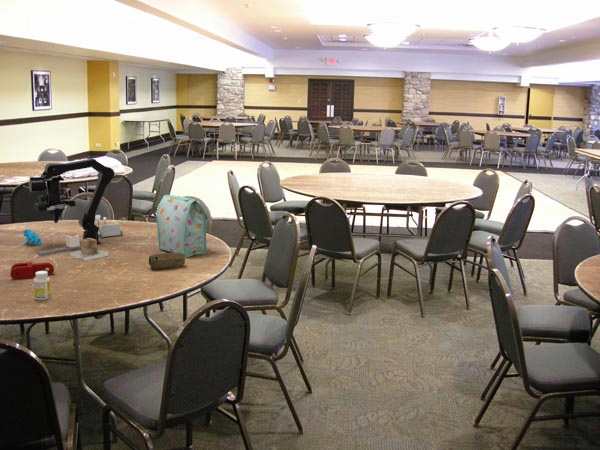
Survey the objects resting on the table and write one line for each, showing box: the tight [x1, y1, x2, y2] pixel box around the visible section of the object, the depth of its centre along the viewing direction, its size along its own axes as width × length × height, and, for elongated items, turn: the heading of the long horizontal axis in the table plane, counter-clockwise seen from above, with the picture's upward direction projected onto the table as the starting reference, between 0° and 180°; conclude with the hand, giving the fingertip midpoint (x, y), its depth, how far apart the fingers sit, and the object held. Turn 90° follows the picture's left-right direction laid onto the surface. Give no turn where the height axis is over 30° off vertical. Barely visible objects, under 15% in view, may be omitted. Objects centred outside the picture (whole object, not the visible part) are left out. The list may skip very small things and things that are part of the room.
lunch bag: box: [155, 194, 209, 259], centre depth 284 cm, size 23×16×27 cm
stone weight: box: [148, 252, 186, 270], centre depth 259 cm, size 15×7×7 cm, turn 124°
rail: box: [36, 245, 81, 257], centre depth 281 cm, size 20×3×1 cm, turn 139°
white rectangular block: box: [65, 232, 81, 248], centre depth 285 cm, size 4×4×6 cm
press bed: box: [69, 248, 109, 262], centre depth 275 cm, size 12×12×2 cm
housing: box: [80, 238, 98, 255], centre depth 274 cm, size 5×5×7 cm
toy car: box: [95, 214, 124, 239], centre depth 317 cm, size 18×10×12 cm
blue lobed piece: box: [22, 228, 43, 246], centre depth 292 cm, size 11×6×10 cm
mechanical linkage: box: [9, 261, 55, 281], centre depth 243 cm, size 16×7×5 cm, turn 113°
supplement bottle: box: [33, 271, 52, 301], centre depth 217 cm, size 5×5×10 cm
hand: (56, 222), depth 286 cm, fingers closed
